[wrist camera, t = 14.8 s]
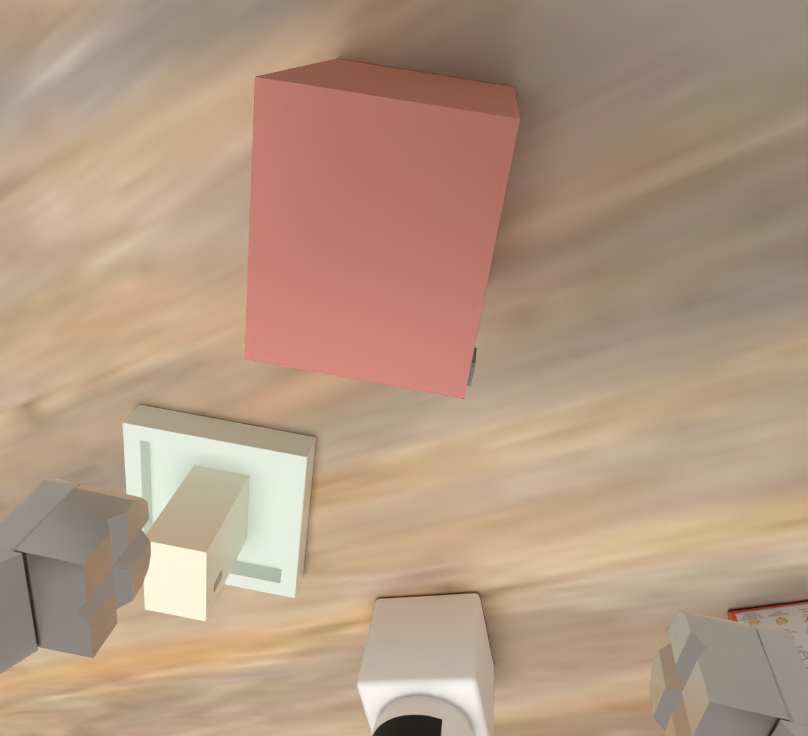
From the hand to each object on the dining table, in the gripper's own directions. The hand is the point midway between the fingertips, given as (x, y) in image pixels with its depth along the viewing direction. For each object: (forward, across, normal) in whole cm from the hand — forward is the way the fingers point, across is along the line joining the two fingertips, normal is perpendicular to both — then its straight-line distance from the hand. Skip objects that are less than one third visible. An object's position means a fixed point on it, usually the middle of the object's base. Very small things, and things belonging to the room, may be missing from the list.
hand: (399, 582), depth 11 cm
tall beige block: (+26, +13, +22) cm, 36 cm away
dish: (+26, +13, +22) cm, 37 cm away
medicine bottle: (+27, -2, +30) cm, 41 cm away
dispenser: (+27, +4, 0) cm, 27 cm away
